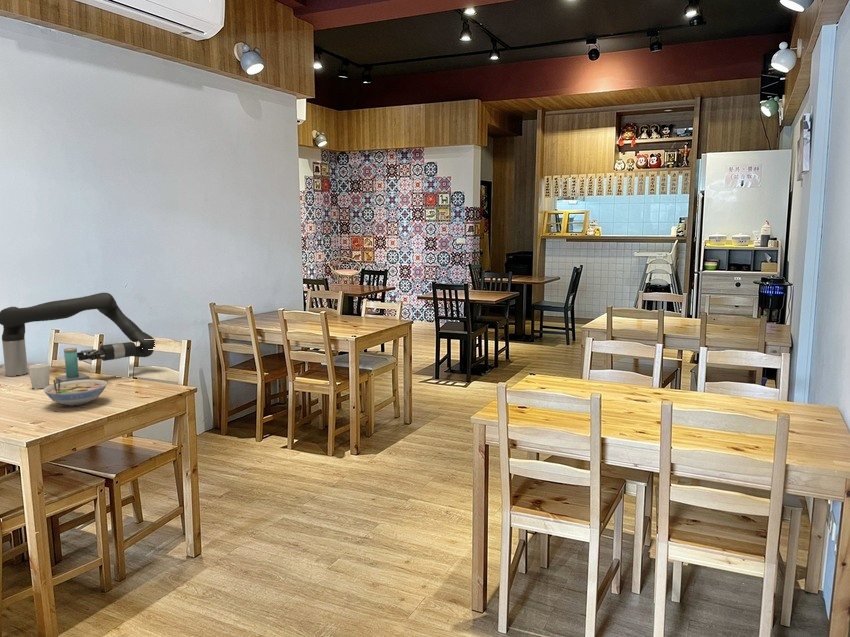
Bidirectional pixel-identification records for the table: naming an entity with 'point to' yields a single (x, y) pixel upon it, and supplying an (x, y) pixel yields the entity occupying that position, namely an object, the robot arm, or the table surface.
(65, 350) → the tea canister
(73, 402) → the ramen bowl
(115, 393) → the table surface
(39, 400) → the table surface
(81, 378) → the slate plinth
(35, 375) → the white cup
